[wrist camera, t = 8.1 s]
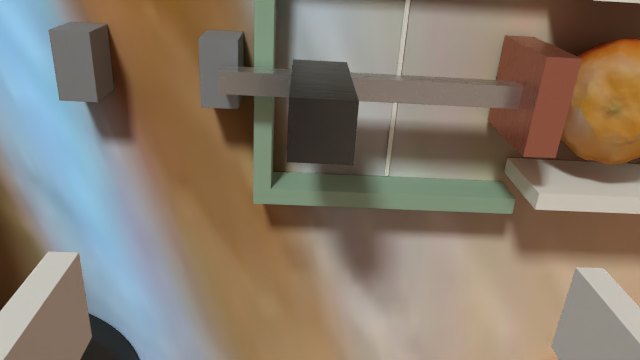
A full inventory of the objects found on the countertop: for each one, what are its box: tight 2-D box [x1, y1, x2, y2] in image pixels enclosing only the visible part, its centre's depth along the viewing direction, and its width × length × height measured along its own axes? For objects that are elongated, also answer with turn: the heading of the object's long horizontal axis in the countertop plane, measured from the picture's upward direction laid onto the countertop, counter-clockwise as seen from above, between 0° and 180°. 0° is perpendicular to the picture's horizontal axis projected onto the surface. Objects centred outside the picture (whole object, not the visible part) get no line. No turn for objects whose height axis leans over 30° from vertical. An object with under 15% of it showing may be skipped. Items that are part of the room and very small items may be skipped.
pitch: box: [49, 0, 516, 214], centre depth 35 cm, size 31×18×3 cm, turn 87°
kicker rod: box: [218, 36, 582, 165], centre depth 30 cm, size 20×6×12 cm, turn 87°
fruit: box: [561, 38, 640, 165], centre depth 35 cm, size 8×8×8 cm
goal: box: [504, 0, 640, 214], centre depth 35 cm, size 12×14×6 cm
